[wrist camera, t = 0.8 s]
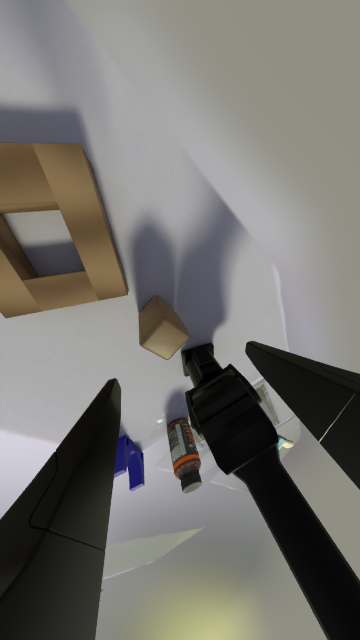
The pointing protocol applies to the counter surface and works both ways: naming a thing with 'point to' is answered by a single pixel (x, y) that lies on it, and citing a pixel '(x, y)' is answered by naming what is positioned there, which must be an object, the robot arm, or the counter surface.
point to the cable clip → (130, 462)
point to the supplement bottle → (184, 455)
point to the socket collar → (80, 217)
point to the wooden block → (161, 329)
